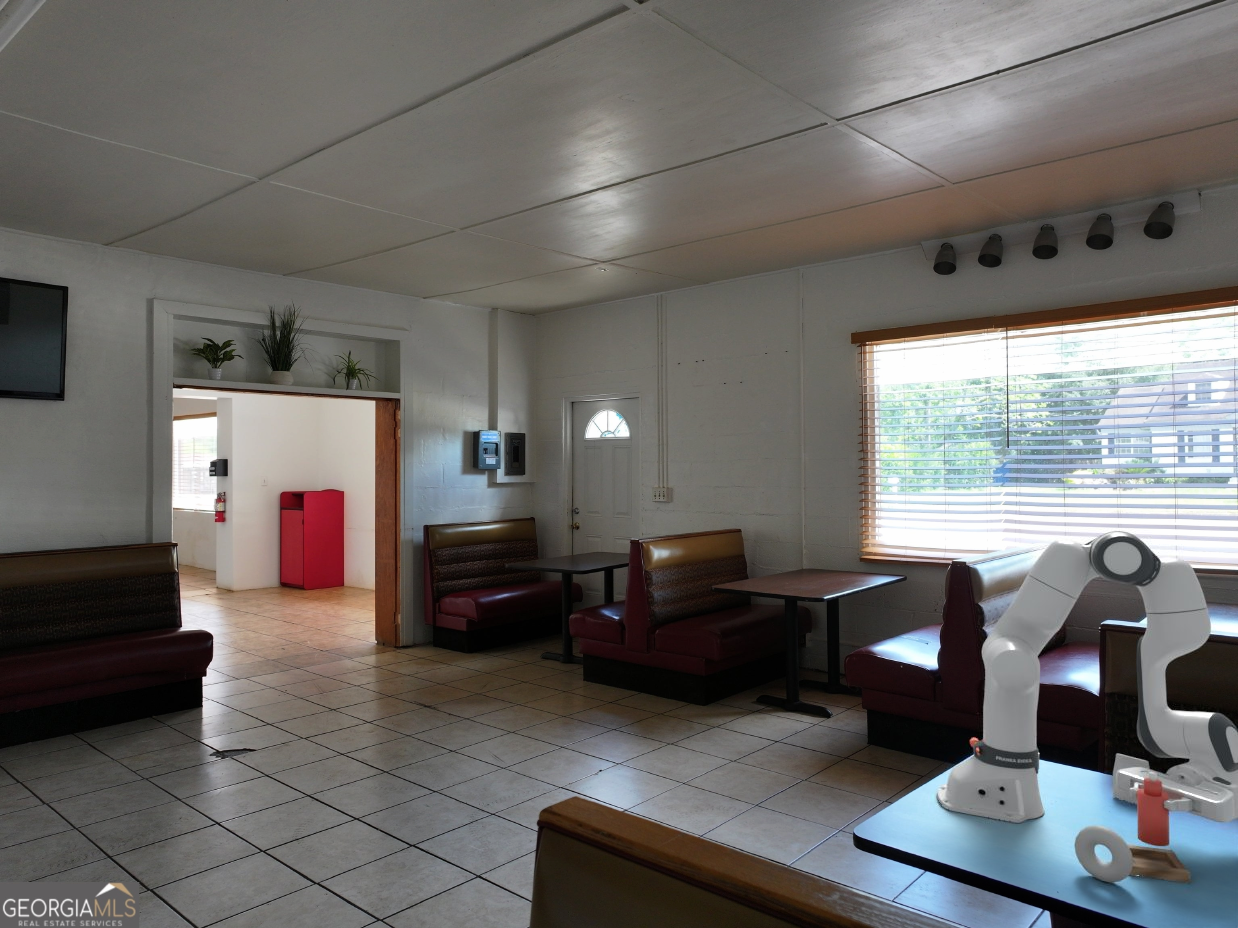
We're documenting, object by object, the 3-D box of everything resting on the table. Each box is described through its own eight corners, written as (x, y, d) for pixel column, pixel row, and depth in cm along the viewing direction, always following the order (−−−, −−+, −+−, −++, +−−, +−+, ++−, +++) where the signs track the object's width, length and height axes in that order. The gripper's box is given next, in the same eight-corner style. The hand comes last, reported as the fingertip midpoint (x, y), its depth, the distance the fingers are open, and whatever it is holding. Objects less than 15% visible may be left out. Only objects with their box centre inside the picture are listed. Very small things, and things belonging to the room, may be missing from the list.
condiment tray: (1129, 875, 158) (1129, 865, 158) (1114, 852, 168) (1114, 843, 168) (1190, 883, 155) (1190, 873, 155) (1172, 859, 165) (1172, 850, 165)
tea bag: (1144, 807, 190) (1144, 763, 190) (1112, 797, 196) (1113, 755, 196) (1151, 803, 193) (1151, 759, 193) (1119, 793, 198) (1119, 751, 198)
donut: (1136, 887, 154) (1136, 833, 154) (1129, 893, 151) (1129, 838, 151) (1078, 867, 161) (1079, 815, 161) (1071, 872, 159) (1071, 820, 159)
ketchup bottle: (1145, 845, 159) (1145, 777, 159) (1132, 833, 164) (1131, 767, 165) (1175, 846, 159) (1174, 778, 159) (1160, 834, 164) (1159, 768, 164)
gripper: (1139, 755, 177) (1098, 766, 170) (1247, 788, 158) (1206, 802, 152) (1139, 785, 177) (1098, 797, 170) (1247, 821, 158) (1206, 836, 152)
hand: (1150, 800), depth 161 cm, fingers closed on ketchup bottle, 5 cm apart
